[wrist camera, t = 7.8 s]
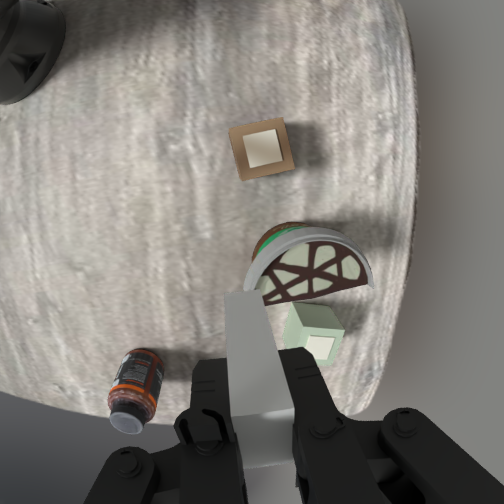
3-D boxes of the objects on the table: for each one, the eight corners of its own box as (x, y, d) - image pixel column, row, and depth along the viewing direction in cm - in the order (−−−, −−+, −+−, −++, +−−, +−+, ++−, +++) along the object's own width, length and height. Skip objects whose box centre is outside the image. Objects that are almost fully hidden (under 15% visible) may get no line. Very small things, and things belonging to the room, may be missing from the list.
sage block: (291, 301, 37) (303, 327, 31) (328, 305, 37) (345, 330, 31) (282, 335, 38) (291, 364, 32) (317, 338, 39) (331, 366, 33)
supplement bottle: (116, 351, 37) (90, 407, 26) (154, 343, 37) (135, 403, 26) (135, 383, 39) (117, 440, 28) (171, 376, 39) (160, 437, 28)
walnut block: (228, 133, 30) (228, 128, 25) (274, 123, 30) (283, 116, 25) (239, 178, 32) (242, 181, 27) (284, 167, 32) (295, 169, 27)
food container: (337, 203, 33) (377, 221, 24) (341, 254, 35) (379, 287, 26) (229, 221, 33) (231, 247, 24) (239, 273, 35) (245, 316, 25)
